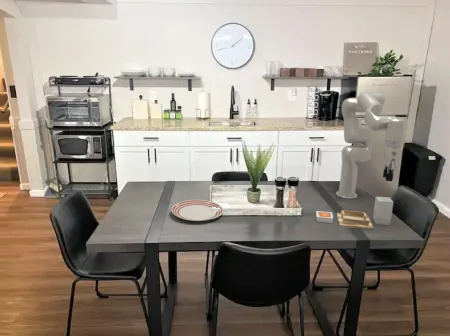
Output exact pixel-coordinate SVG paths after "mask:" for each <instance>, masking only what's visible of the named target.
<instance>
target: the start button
mask: <svg viewBox="0 0 450 336" xmlns="http://www.w3.org/2000/svg"><path fill="white" fill-rule="evenodd" d="M325 212H326V211H322V213H320V217H329V214H328V213H325Z"/></svg>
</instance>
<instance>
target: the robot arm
mask: <svg viewBox="0 0 450 336" xmlns="http://www.w3.org/2000/svg"><path fill="white" fill-rule="evenodd" d="M385 100H386V99H385V95H384V94H383V92H382V93H381V92H378V91H377V92H376V91H363V92H360V93H359V94H358V96H357V97H349V98H346V99H344V100H343V102H342V104H341V115H342V117H343V138H344V142H345V143H347V144H360V145H346V146H344V147H343V148H342V149H341V172H340V180H339V188H338V190H337V191H336V192H335V195H336V196H338V197H340V198H341V199H342V198H343V199H350V200H351V199H356V198H358V193H356V187H357V180H358V174H359V173H358V171H359V168H358V166H357V164H356V162H368V161H370V160H371V159H372V154H373V150H372V149H373V148H372V147H373V140H372V139H373V135H372V132H371V131H373V132H374V131H375V132H385V137H384V143H383V146H384V155H383V165H384V167H383V173H382V178H384V180H385V181H386V182H393V179H394V175H395V174H394V171H395V169H397V168H398V167H399V160H400V159H399V158H400V148H401V147H402V143H403V135H404V128H405V120H404V119H403V118H399V117H396V116H394V115H380V114H381V112H382V110H383V106H384V104H385ZM356 113H364V116H363V119H364V123H365V124H366V126H367V127H368V128H367V127H360V121H359V118H358V116H357V115H356Z"/></svg>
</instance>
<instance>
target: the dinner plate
mask: <svg viewBox="0 0 450 336" xmlns="http://www.w3.org/2000/svg"><path fill="white" fill-rule="evenodd" d="M211 206H212V207H216V208H220V209H221V210H220V211H218V212H215V213H213V212H211V211H210V208H211ZM171 213H172V214H173V215H174V216H176V217H177V218H179V219H182V220H186V221H193V222H204V221H210V220H214V219H217V218H219V217H220V216H221V215H222V214H223V213H224V208H223V206H222V205H220V204H218V203H217V202H214V201H210V200H206V199H188V200H184V201H180V202H178V203H176V204H174V205H173V206H172V207H171Z"/></svg>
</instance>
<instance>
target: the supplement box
mask: <svg viewBox="0 0 450 336" xmlns="http://www.w3.org/2000/svg"><path fill="white" fill-rule="evenodd" d="M393 208H394V201H393V200H392V199H391V197H389V196H388V197H386V196H375V198H374V208H373V214H372V220H373V222H374V223H375V224H376V225H381V226H383V225H385V226H390V225H391V223H392V222H391V220H392V215H393V214H392V213H393Z"/></svg>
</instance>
